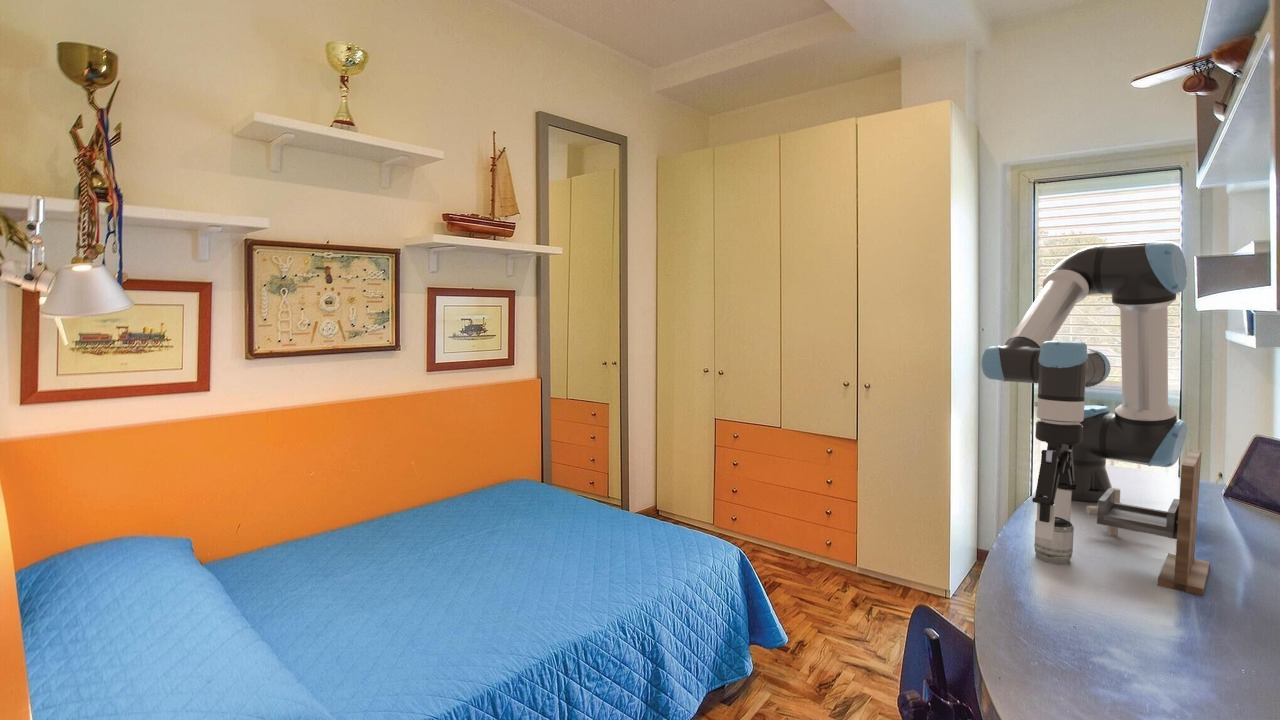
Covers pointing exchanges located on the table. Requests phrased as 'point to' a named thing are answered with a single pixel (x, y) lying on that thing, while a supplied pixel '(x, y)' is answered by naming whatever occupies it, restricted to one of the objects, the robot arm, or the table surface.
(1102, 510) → the cup bracket
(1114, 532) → the pipe connector
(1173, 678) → the table surface
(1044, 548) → the camera lens
